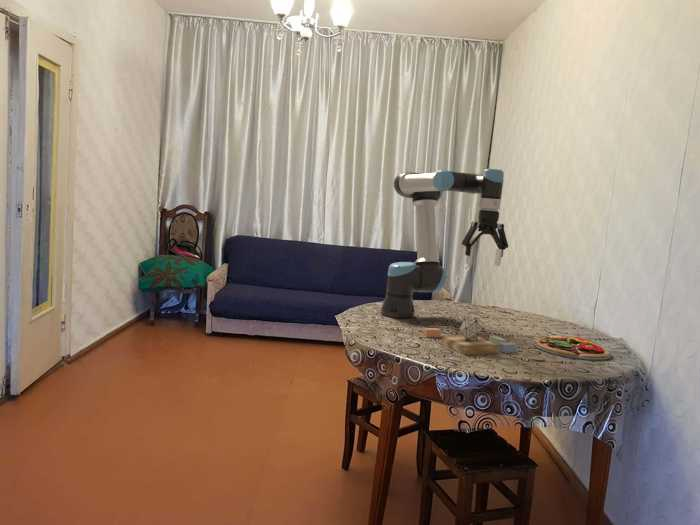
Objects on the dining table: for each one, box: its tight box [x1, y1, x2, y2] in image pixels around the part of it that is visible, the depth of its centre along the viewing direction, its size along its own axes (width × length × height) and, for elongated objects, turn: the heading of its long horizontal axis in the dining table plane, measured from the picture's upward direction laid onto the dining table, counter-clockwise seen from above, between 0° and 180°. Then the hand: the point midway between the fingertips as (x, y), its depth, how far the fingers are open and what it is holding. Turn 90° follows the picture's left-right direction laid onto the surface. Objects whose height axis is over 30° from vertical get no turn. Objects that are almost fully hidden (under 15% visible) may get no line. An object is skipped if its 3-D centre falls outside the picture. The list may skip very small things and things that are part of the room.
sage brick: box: [488, 335, 507, 345], centre depth 213 cm, size 6×3×3 cm, turn 24°
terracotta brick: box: [422, 327, 442, 338], centre depth 218 cm, size 6×3×3 cm, turn 107°
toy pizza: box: [532, 335, 613, 361], centre depth 215 cm, size 28×28×4 cm
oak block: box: [440, 334, 498, 355], centre depth 203 cm, size 14×14×3 cm
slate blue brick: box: [497, 341, 518, 354], centre depth 204 cm, size 6×3×3 cm, turn 121°
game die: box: [456, 316, 486, 341], centre depth 203 cm, size 9×8×10 cm
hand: (482, 265), depth 222 cm, fingers open, 13 cm apart
